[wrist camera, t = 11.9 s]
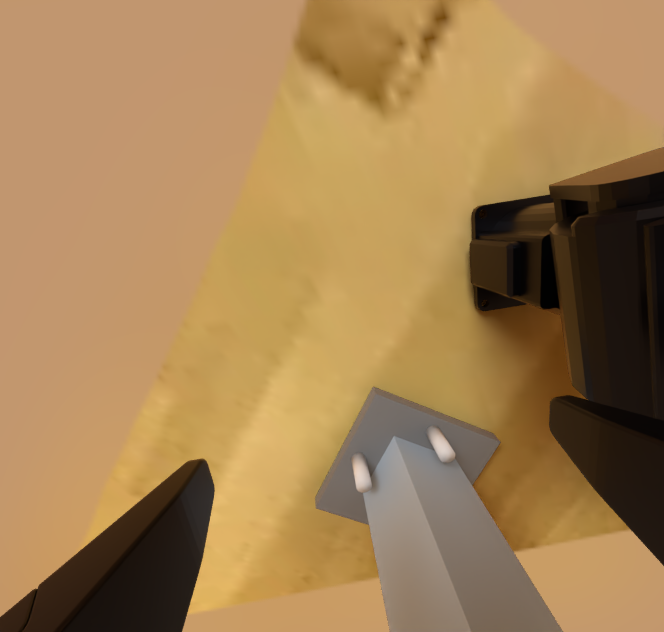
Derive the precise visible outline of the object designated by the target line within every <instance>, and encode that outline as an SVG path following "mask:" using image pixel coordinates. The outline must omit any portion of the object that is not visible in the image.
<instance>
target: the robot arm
mask: <svg viewBox="0 0 664 632" xmlns="http://www.w3.org/2000/svg"><path fill="white" fill-rule="evenodd" d="M549 190H550V195H545V196H538V197H532V198H526V199H519V200H513V201H507V202H501V203H494V204H488V205H482V206H478V207H476V208H475V209H474V210H473V212H472V241H471V243H470V269H471V283H472V284H474V303H475V306H476V308H477V309H480V310H482V311H489V310H495V309H501V308H507V307H513V306H519V305H525V304H530V305H533V306H536V307H539V308H541V309H544V310H547V311H550V312H553V313H556V314H558V315H561V321H562V329H563V336H564V344H565V351H566V359H567V366H568V374H569V376H570V379H571V382H572V385H573V387H575V388H576V389H577V390H578V391H579V392H580V393H581V394H582V395H583V396H584V397H585V398H586V399H588V400H585V399H581V398H578V397H574V396H570V395H566V396H560V397H554V398H553V399H551V401H550V417H549V427H550V430H551V433H552V434H553V436H554V437H555V439H556V440H557V441H558V443H559V444H560V445H561V447H562V448H563V449H564V450H565V452H566V453H567V454H568V456H569V457H570V458H571V460H572V461H573V462H574V464H575V465H576V466H577V467H578V469H579V470H580V471H581V473H582V474H583V475H584V477H585V478H586V479H587V480H588V482H589V483H590V484H591V485H592V487H593V488H594V489H595V490H596V491H597V493H598V494H599V495H600V496H601V497H602V498H603V499H604V501H605V502H606V503H607V504H608V505H609V506H610V507H611V508H612V509H613V510H614V512H615V513H616V514H617V515H618V516H619V517H620V518H621V519H622V520H623V522H624V523H625V524H626V525H627V526H628V527H629V528H630V529H631V530H632V531H633V532H634V534H635V535H636V536H637V537H638V538H639V539H640V540H641V541H642V542H643V544H644V545H645V546H646V547H647V548H648V549H649V550H650V551H651V552H652V553H653V555H654V556H655V557H656V558H657V559H658V560H659V561H660V562H661V563H662V564H663V566H664V147H663V148H659V149H655V150H652V151H649V152H646V153H643V154H640V155H637V156H634V157H631V158H628V159H625V160H622V161H619V162H616V163H613V164H610V165H607V166H604V167H601V168H599V169H596V170H593V171H590V172H587V173H584V174H581V175H578V176H575V177H572V178H569V179H566V180H563V181H560V182H557V183H554V184H551V185H549ZM481 210H482V211H483V212H484V216H483V217H482V218H480V217H479V212H480V211H481ZM483 300H486V303H485V305H483V306H482V305H481V303H482V301H483ZM214 491H215V490H214V483H213V480H212V476H211V473H210V470H209V467H208V464H207V461H206V460H205V459H197V460H191V461H188V462H186V463H185V464H184V465H183V466H181V467H180V468H179V469H178V470H177V471H175V472H174V473H173V474H172V475H171V476H169V477H168V478H167V479H166V480H165V481H163V482H162V483H161V484H160V485H159V486H157V487H156V488H155V489H154V490H153V491H151V492H150V493H149V494H148V495H147V496H145V497H144V498H143V499H142V500H141V501H139V502H138V503H137V504H136V505H135V506H133V507H132V508H131V509H130V510H129V511H127V512H126V513H125V514H124V515H123V516H121V517H120V518H119V519H118V520H117V521H115V522H114V523H113V524H112V525H111V526H109V527H108V528H107V529H106V530H105V531H103V532H102V533H101V534H100V535H98V536H97V537H96V538H95V539H94V540H92V541H91V542H90V543H89V544H88V545H86V546H85V547H84V548H83V549H82V550H80V551H79V552H78V553H77V554H76V555H74V556H73V557H72V558H71V559H70V560H68V561H67V562H66V563H65V564H64V565H63V566H61V567H60V568H59V569H58V570H57V571H55V572H54V573H53V574H52V575H50V576H49V577H48V578H47V579H46V580H44V582H42V583H41V584H40V585H39V586H38V589H34V590H32V591H31V592H30V593H29V594H27V596H25V597H24V598H23V599H22V600H20V601H19V602H18V603H17V604H16V605H14V606H13V607H12V608H11V609H10V610H8V611H7V612H6V613H5V614H4V615H2V616H1V617H0V632H182V629H183V626H184V623H185V619H186V616H187V612H188V609H189V605H190V602H191V598H192V595H193V591H194V588H195V584H196V581H197V577H198V573H199V570H200V566H201V562H202V558H203V553H204V548H205V543H206V537H207V532H208V526H209V521H210V515H211V510H212V504H213V499H214Z"/></svg>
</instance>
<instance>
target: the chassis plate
mask: <svg viewBox="0 0 664 632" xmlns="http://www.w3.org/2000/svg"><path fill="white" fill-rule="evenodd" d="M394 436H395V437H398V438H401V439H404V440H406V441H409V442H412V443H414V444H417V445H420V446H422V447H425V448H428V449H431V450H433V451H436V453H437V455H438V457H439V459H440V460H441V461H442V462H443V463H450V462H452V461H453V460H454V459H456V461H457V462H458V464H459V465H460V467H461V469H462V470H463V472H464V473H465V475H466V477H467V478H468V480H469V481H470V483H471V485H473V484H474V482H475V481H476V479H477V477H478V476H479V474H480V473H481V471H482V470H483V468H484V467H485V465H486V464H487V462H488V461H489V459H490V458H491V456H492V454H493V453H494V451H495V450H496V448H497V447H498V445H499V444H500V441H499V440H498V439H497V437H496V436H495V435H494V434H493V433H491V432H488V431H485V430H483V429H480V428H478V427H475V426H473V425H470V424H468V423H465V422H462V421H460V420H457V419H455V418H452V417H450V416H447V415H444V414H442V413H439V412H437V411H434V410H432V409H429V408H427V407H424V406H421V405H419V404H416V403H414V402H411V401H409V400H406V399H403V398H401V397H398V396H396V395H393V394H391V393H388V392H386V391H383V390H380V389H378V388H375V387H373V388H372V390H371V392H370V394H369V396H368V398H367V400H366V401H365V403H364V405H363V407H362V409H361V411H360V413H359V415H358V417H357V419H356V421H355V423H354V424H353V426H352V428H351V430H350V432H349V434H348V436H347V438H346V440H345V442H344V444H343V445H342V447H341V449H340V451H339V453H338V455H337V457H336V459H335V461H334V463H333V465H332V466H331V468H330V470H329V472H328V474H327V476H326V478H325V480H324V482H323V484H322V486H321V488H320V489H319V491H318V493H317V495H316V497H315V501H316V508H317V509H320V510H323V511H326V512H329V513H333V514H336V515H339V516H342V517H345V518H349V519H352V520H355V521H358V522H361V523H365V524H368V525H369V522H368V516H367V511H366V506H365V501H364V496H363V493H366V492H368V491H370V490H371V488H372V483H371V476H372V474H373V472H374V471H375V469H376V467H377V465H378V463H379V462H380V460H381V458H382V456H383V455H384V453H385V451H386V449H387V447H388V446H389V444H390V442H391V440H392V439H393V437H394Z"/></svg>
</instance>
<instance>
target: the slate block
mask: <svg viewBox="0 0 664 632" xmlns="http://www.w3.org/2000/svg"><path fill="white" fill-rule="evenodd" d="M371 483H372V488H371V490H370V491H368V492H366V493H363V496H364V501H365V506H366V511H367V516H368V522H369V527H370V532H371V537H372V542H373V547H374V553H375V558H376V563H377V568H378V573H379V578H380V583H381V589H382V593H383V599H384V604H385V609H386V614H387V620H388V625H389V630H390V632H563V631H562V629H561V628H560V626H559V625H558V623H557V622H556V620H555V618H554V616H553V615H552V613H551V612H550V610H549V608H548V607H547V605H546V604H545V602H544V600H543V599H542V597H541V596H540V594H539V592H538V591H537V589H536V588H535V586H534V584H533V583H532V581H531V580H530V578H529V576H528V575H527V573H526V571H525V570H524V568H523V567H522V565H521V563H520V562H519V560H518V559H517V557H516V555H515V554H514V552H513V551H512V549H511V547H510V546H509V544H508V543H507V541H506V539H505V538H504V536H503V535H502V533H501V531H500V530H499V528H498V526H497V525H496V523H495V522H494V520H493V518H492V517H491V515H490V514H489V512H488V510H487V509H486V507H485V506H484V504H483V502H482V501H481V499H480V498H479V496H478V494H477V493H476V491H475V490H474V488H473V486H472V485H471V483H470V481H469V480H468V478H467V477H466V475H465V473H464V472H463V470H462V469H461V467H460V465H459V464H458V462H457V461H456V459H454V460H453V461H452V462H450V463H443V462H442V461H441V460H440V459H439V457H438V455H437V453H436V451H433V450H431V449H428V448H425V447H422V446H420V445H417V444H414V443H412V442H409V441H406V440H404V439H401V438H398V437H395V436H394V437H393V439H392V440H391V442H390V444H389V446H388V447H387V449H386V451H385V453H384V455H383V456H382V458H381V460H380V462H379V463H378V465H377V467H376V469H375V471H374V472H373V474H372V476H371Z"/></svg>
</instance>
